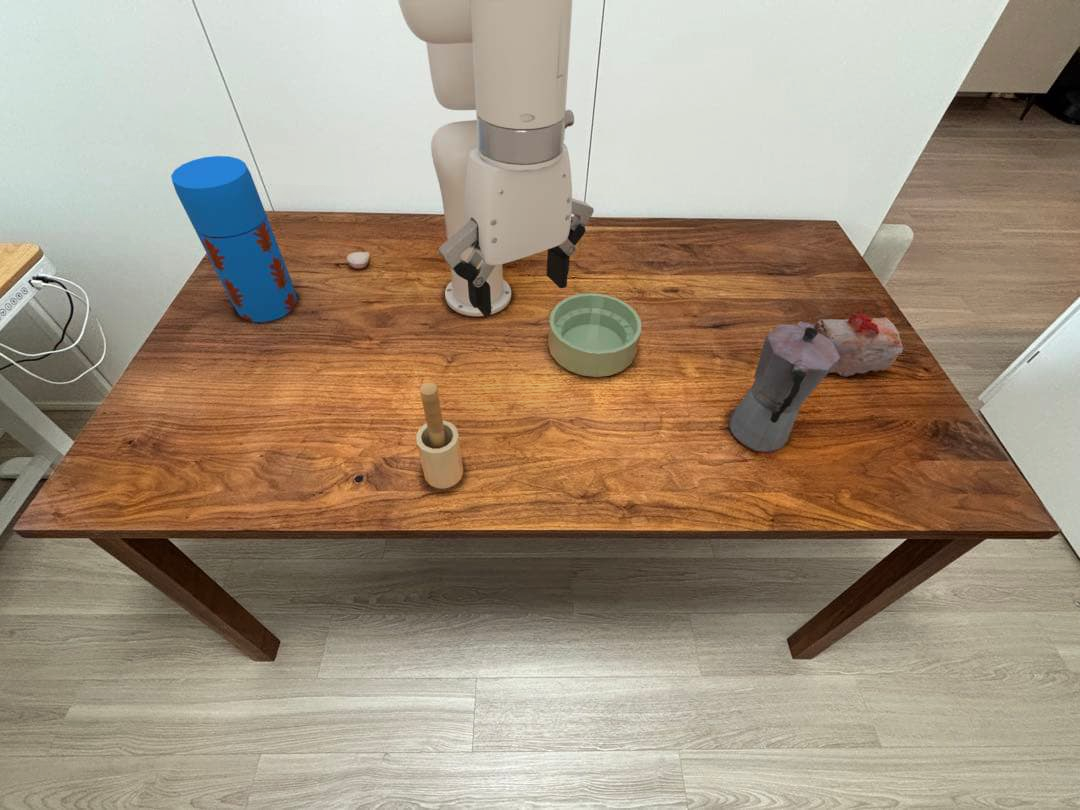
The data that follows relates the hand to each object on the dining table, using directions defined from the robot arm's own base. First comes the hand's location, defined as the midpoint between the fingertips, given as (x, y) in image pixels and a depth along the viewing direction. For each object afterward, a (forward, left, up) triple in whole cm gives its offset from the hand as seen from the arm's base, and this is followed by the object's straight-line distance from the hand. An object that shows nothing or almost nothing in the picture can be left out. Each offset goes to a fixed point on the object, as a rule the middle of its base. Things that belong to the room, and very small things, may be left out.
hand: (520, 295), depth 59 cm
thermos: (-50, -27, -28) cm, 63 cm away
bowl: (-13, +21, -28) cm, 37 cm away
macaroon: (-55, -8, -28) cm, 62 cm away
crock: (0, -12, -28) cm, 30 cm away
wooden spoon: (0, -12, -27) cm, 29 cm away
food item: (+10, +58, -28) cm, 65 cm away
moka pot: (+15, +34, -28) cm, 47 cm away
